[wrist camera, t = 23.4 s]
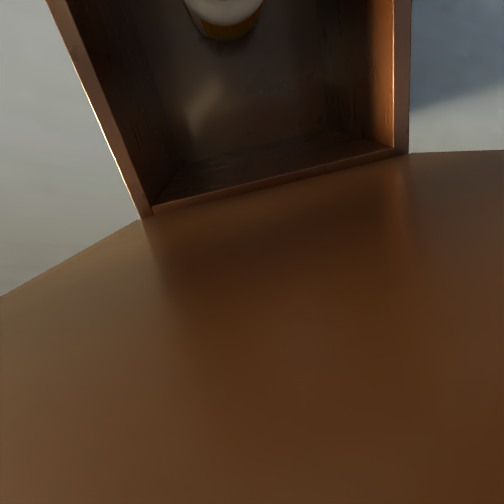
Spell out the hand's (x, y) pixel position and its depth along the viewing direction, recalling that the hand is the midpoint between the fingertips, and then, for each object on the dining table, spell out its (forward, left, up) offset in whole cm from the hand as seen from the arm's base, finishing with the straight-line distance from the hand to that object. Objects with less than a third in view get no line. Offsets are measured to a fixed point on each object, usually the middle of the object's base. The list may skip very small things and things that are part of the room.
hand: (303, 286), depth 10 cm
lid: (-3, 0, +2) cm, 4 cm away
